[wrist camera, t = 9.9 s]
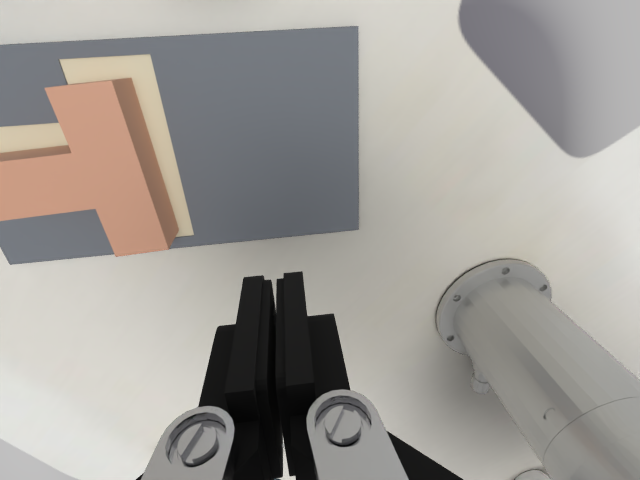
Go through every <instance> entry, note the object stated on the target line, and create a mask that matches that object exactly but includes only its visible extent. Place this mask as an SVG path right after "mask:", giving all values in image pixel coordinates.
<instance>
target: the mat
mask: <svg viewBox="0 0 640 480" xmlns="http://www.w3.org/2000/svg"><path fill="white" fill-rule="evenodd" d="M123 78H132V81H133V84H134V87H135V91H136V94H137V97H138V100H139V103H140V107H141V110H142V113H143V116H144V119H145V123H146V126H147V129H148V132H149V135H150V139H151V142H152V145H153V148H154V151H155V155H156V158H157V161H158V164H159V167H160V171H161V174H162V177H163V180H164V183H165V186H166V190H167V193H168V196H169V199H170V202H171V206H172V209H173V212H174V215H175V218H176V222H177V225H178V228H179V231H178V233H177V235H176V237H175V239H174V240H173V242H172V244H171V246H170V248H169V249H172V248H182V247H192V246H202V245H212V244H222V243H232V242H242V241H252V240H262V239H272V238H282V237H292V236H301V235H311V234H321V233H331V232H341V231H351V230H359V186H358V26H350V27H331V28H312V29H293V30H274V31H255V32H236V33H217V34H198V35H179V36H160V37H141V38H122V39H103V40H84V41H65V42H46V43H27V44H8V45H0V153H5V152H13V151H22V150H30V149H39V148H47V147H56V146H64V145H68V143H67V141H66V138H65V136H64V134H63V131H62V129H61V126H60V124H59V122H58V119H57V117H56V115H55V112H54V110H53V108H52V105H51V103H50V100H49V98H48V96H47V93H46V91H45V89H44V88H47V87H54V86H61V85H68V84H76V83H86V82H95V81H104V80H113V79H123ZM0 247H1V249H2V251H3V253H4V255H5V257H6V258H7V260H8V262H9V264H10V265H12V264H22V263H32V262H42V261H52V260H62V259H72V258H82V257H92V256H102V255H112V254H114V252H113V249H112V247H111V244H110V242H109V240H108V237H107V235H106V233H105V230H104V228H103V226H102V223H101V221H100V218H99V216H98V214H97V211H96V209H90V210H82V211H74V212H67V213H59V214H51V215H43V216H36V217H28V218H20V219H12V220H5V221H0Z"/></svg>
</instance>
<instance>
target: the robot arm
mask: <svg viewBox="0 0 640 480" xmlns="http://www.w3.org/2000/svg"><path fill="white" fill-rule="evenodd" d="M551 298H552V296H551V287H550V284H549V281H548V280H547V278H546V277H545V275H544V274H543V273H542V272H540V271H539V270H538V269H537V268H536V267H534V266H532V265H531V264H529V263H526V262H523V261H520V260H512V259H507V260H497V261H493V262H489V263H486V264H483V265H481V266H478V267H476V268H474V269H473V270H471V271H469V272H467V273H466V274H464V275H463V276H462V277H461V278H459V279H458V280H457V281H456V282H455V283H454V284H453V285H452V286H451V287H450V288H449V289H448V291H447V292H446V293H445V295H444V296H443V298H442V300H441V302H440V304H439V307H438V311H437V315H436V324H437V328H438V332H439V334H440V335H441V337H442V339H443V340H444V342H445V343H446V344H447V346H449V347H450V348H451V349H452V350H454V351H456V352H458V353H460V354H464V355H469V357H470V359H471V360H472V362H473V363H472V367H473V369H474V370H475V371H474V373H473V376H472V381H471V388H472V389H473V390H474V391H475V392H476V393H479V394H485V393H487V392H488V390H489V386H491V387H492V389H493V390H494V392H495V394H496V395H497V397H498V398H499V400H500V401H501V403H502V404H503V406H504V407H505V409H506V410H507V412H508V413H509V415H510V416H511V418H512V419H513V421H514V422H515V424H516V425H517V427H518V428H519V430H520V431H521V433H522V434H523V436H524V437H525V439H526V440H527V442H528V443H529V445H530V446H531V448H532V449H533V451H534V453H535V454H536V456H537V457H538V459H539V460H540V462H541V463H542V465H543V466H544V468H545V469H546V471H547V472H548V474H549V475H550V477H551V478H552V480H640V380H639V379H638V378H637V377H636V376H635V375H634V374H633V373H631V372H630V371H629V370H628V369H627V368H626V367H625V366H624V365H622V364H621V363H620V362H619V361H618V360H617V359H616V358H614V357H613V356H612V355H611V354H610V353H609V352H608V351H607V350H605V349H604V348H603V347H602V346H601V345H600V344H599V343H597V342H596V341H595V340H594V339H593V338H592V337H591V336H590V335H588V334H587V333H586V332H585V331H584V330H583V329H582V328H580V327H579V326H578V325H577V324H576V323H575V322H574V321H573V320H571V319H570V318H569V317H568V316H567V315H566V314H565V313H563V312H562V311H561V310H560V309H559V308H558V307H557V306H556V305H554V304H553V303H552V302H551ZM283 438H284V444H285V451H286V457H287V463H288V469H289V475H290V476H296V480H463V479H462V478H460V477H458V476H457V475H455V474H454V473H452V472H451V471H449V470H447V469H446V468H444V467H443V466H441V465H440V464H438V463H436V462H435V461H433V460H432V459H430V458H429V457H427V456H425V455H424V454H422V453H421V452H419V451H418V450H416V449H414V448H413V447H411V446H410V445H408V444H407V443H405V442H403V441H402V440H400V439H399V438H397V437H395V436H394V435H392V434H391V433H389V432H388V431H386V429H385V427H384V425H383V423H382V420H381V418H380V416H379V414H378V412H377V410H376V408H375V407H374V405H373V404H372V402H371V401H370V400H368V399H367V398H366V397H365V396H364V395H362V394H360V393H357V392H355V391H351V390H350V386H349V382H348V377H347V372H346V368H345V363H344V358H343V354H342V349H341V344H340V340H339V335H338V331H337V326H336V321H335V317H334V314H325V315H316V316H307V310H306V301H305V292H304V282H303V273H302V272H292V273H284V278H282V279H277V294H276V310H275V302H274V295H273V288H272V282H271V280H264V276H263V275H262V276H253V277H244V279H243V284H242V290H241V296H240V302H239V308H238V314H237V320H236V324H233V325H224V326H219V327H218V328H217V330H216V334H215V338H214V342H213V346H212V351H211V355H210V359H209V363H208V368H207V372H206V376H205V380H204V385H203V389H202V393H201V397H200V402H199V406H198V407H197V408H195V409H192V410H189V411H187V412H185V413H184V414H182V415H181V416H179V417H177V418H176V419H175V420H174V421H173V422H172V423H171V424H170V425H169V426H168V427H167V428H166V430H165V431H164V433H163V435H162V436H161V438H160V440H159V442H158V444H157V446H156V448H155V450H154V453H153V455H152V457H151V459H150V461H149V463H148V465H147V467H146V470H145V472H144V473H143V474H142V475H141V476H140V477H138V478H137V479H136V480H274V478H281V477H283Z"/></svg>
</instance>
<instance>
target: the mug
mask: <svg viewBox="0 0 640 480" xmlns="http://www.w3.org/2000/svg"><path fill="white" fill-rule="evenodd" d="M515 480H552V479H551V478H549V477H548V476H547V475H546V474H544V473H543V472H542V471H540V470H530V471H527V472H524V473H522V474H520V475H519V476H518V477H517V478H516V479H515Z"/></svg>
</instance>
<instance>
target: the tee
mask: <svg viewBox="0 0 640 480" xmlns="http://www.w3.org/2000/svg"><path fill="white" fill-rule="evenodd" d="M44 89H45V91H46V93H47V96H48V98H49V100H50V103H51V105H52V108H53V110H54V112H55V115H56V117H57V119H58V122H59V124H60V126H61V129H62V131H63V134H64V136H65V138H66V141H67V143H68V145H64V146H56V147H47V148H39V149H30V150H22V151H13V152H5V153H0V221H5V220H12V219H20V218H28V217H36V216H43V215H51V214H59V213H67V212H74V211H82V210H90V209H96V211H97V214H98V216H99V218H100V221H101V223H102V226H103V228H104V230H105V233H106V235H107V237H108V240H109V242H110V244H111V247H112V249H113V252H114V254H115V256H116V257H118V256H125V255H132V254H139V253H147V252H154V251H161V250H169V248H170V246H171V244H172V242H173V240H174V239H175V237H176V235H177V233H178V231H179V228H178V225H177V222H176V218H175V215H174V212H173V209H172V206H171V202H170V199H169V196H168V193H167V190H166V186H165V183H164V180H163V177H162V174H161V171H160V167H159V164H158V161H157V158H156V155H155V151H154V148H153V145H152V142H151V139H150V135H149V132H148V129H147V126H146V123H145V119H144V116H143V113H142V110H141V107H140V103H139V100H138V97H137V94H136V91H135V87H134V84H133V81H132V78H123V79H113V80H104V81H95V82H86V83H76V84H68V85H61V86H54V87H47V88H44Z"/></svg>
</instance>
